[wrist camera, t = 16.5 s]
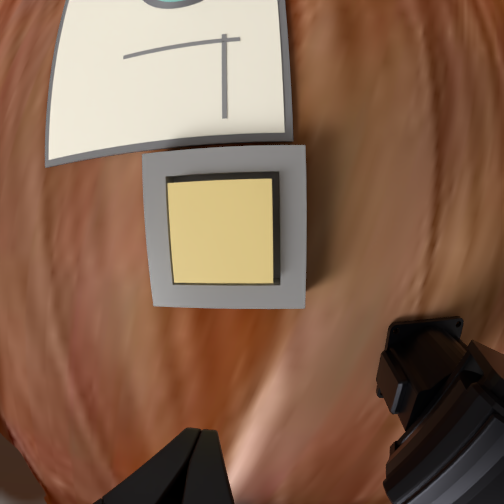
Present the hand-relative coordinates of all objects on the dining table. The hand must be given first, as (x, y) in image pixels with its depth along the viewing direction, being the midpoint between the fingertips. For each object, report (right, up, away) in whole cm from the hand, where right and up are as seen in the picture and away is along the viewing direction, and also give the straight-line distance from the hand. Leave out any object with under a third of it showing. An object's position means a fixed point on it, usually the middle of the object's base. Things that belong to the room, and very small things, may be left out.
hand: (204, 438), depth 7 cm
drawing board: (-5, +20, +9) cm, 23 cm away
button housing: (0, +7, +12) cm, 14 cm away
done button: (0, +6, +11) cm, 13 cm away
